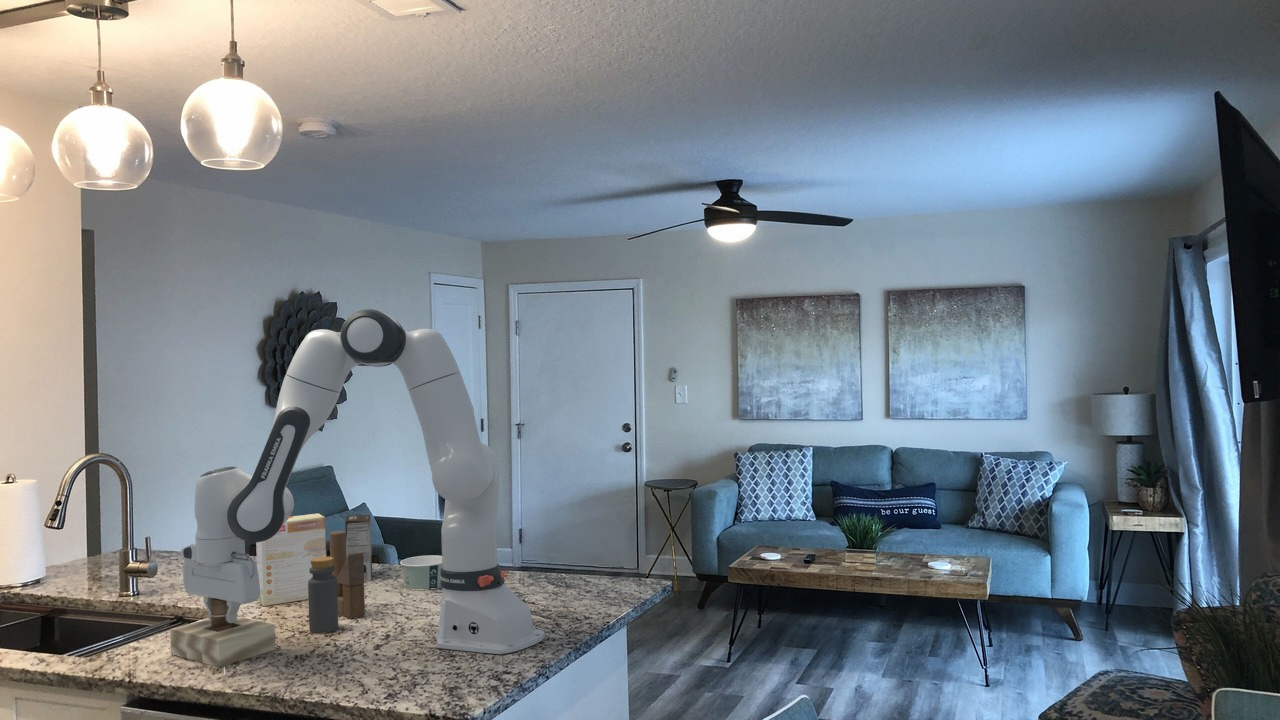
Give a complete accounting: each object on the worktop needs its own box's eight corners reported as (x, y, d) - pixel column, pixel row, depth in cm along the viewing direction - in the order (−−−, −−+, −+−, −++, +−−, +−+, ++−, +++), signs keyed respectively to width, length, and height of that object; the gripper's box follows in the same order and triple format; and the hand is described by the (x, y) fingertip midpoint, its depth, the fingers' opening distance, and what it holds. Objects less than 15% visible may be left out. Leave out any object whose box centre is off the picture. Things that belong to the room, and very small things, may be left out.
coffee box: (347, 576, 249) (345, 515, 249) (372, 573, 251) (370, 513, 251) (346, 583, 240) (344, 520, 240) (372, 581, 242) (370, 518, 242)
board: (275, 649, 185) (274, 624, 185) (219, 667, 175) (218, 640, 175) (226, 638, 194) (226, 614, 194) (170, 654, 184) (170, 629, 184)
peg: (238, 637, 185) (237, 597, 185) (219, 643, 181) (218, 601, 181) (226, 634, 187) (224, 594, 187) (207, 640, 184) (205, 599, 184)
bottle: (309, 627, 200) (307, 557, 200) (337, 624, 202) (335, 554, 202) (309, 634, 195) (307, 562, 195) (339, 631, 197) (337, 559, 197)
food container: (394, 585, 237) (393, 559, 237) (439, 578, 244) (438, 553, 244) (410, 594, 227) (409, 567, 227) (457, 586, 233) (456, 560, 233)
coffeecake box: (321, 591, 233) (318, 512, 233) (328, 596, 227) (326, 516, 227) (257, 600, 225) (254, 519, 225) (263, 607, 219) (260, 523, 219)
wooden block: (350, 619, 206) (348, 537, 206) (328, 611, 213) (325, 532, 213) (365, 616, 208) (363, 535, 208) (343, 607, 216) (341, 529, 216)
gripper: (267, 551, 181) (269, 623, 181) (205, 543, 192) (207, 610, 192) (238, 558, 176) (240, 631, 176) (176, 548, 187) (178, 618, 187)
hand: (222, 620), depth 184 cm, fingers closed on peg, 4 cm apart
